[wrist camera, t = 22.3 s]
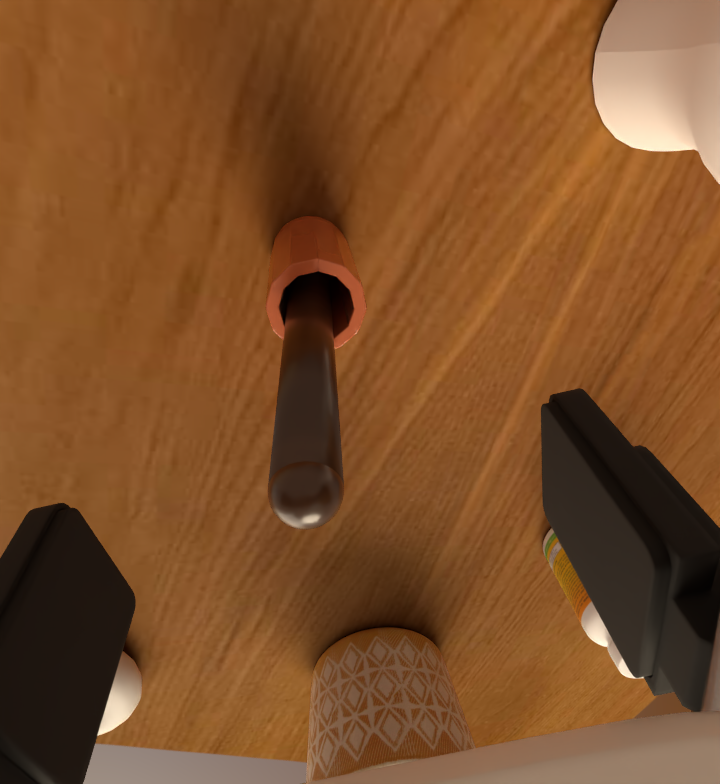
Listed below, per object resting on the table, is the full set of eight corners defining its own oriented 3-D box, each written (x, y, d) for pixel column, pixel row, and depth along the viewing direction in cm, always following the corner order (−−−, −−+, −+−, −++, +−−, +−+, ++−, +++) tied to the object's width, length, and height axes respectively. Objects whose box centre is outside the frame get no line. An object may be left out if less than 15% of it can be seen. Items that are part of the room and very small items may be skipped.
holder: (262, 225, 26) (254, 272, 20) (339, 207, 26) (354, 249, 20) (283, 298, 28) (282, 361, 22) (355, 281, 28) (373, 340, 22)
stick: (287, 250, 26) (254, 497, 12) (323, 242, 26) (336, 481, 11) (296, 285, 27) (277, 551, 13) (332, 277, 27) (353, 537, 12)
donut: (42, 607, 37) (-17, 683, 41) (22, 652, 34) (-41, 731, 38) (171, 651, 42) (108, 717, 45) (163, 695, 39) (96, 762, 42)
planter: (334, 602, 40) (347, 752, 32) (477, 628, 44) (524, 769, 35) (280, 696, 46) (278, 847, 37) (411, 712, 50) (438, 852, 41)
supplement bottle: (563, 571, 42) (631, 696, 33) (527, 538, 39) (590, 664, 31) (623, 534, 40) (710, 655, 32) (590, 497, 38) (675, 617, 29)
